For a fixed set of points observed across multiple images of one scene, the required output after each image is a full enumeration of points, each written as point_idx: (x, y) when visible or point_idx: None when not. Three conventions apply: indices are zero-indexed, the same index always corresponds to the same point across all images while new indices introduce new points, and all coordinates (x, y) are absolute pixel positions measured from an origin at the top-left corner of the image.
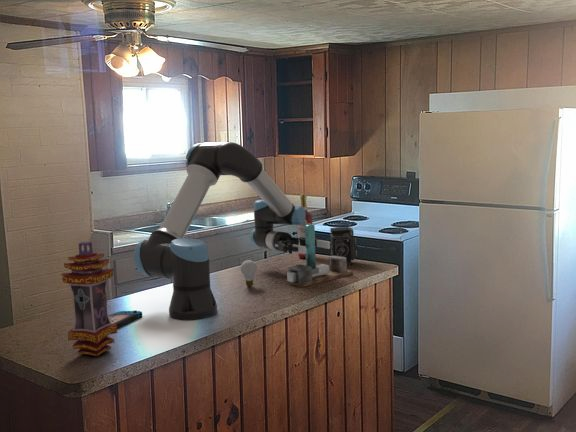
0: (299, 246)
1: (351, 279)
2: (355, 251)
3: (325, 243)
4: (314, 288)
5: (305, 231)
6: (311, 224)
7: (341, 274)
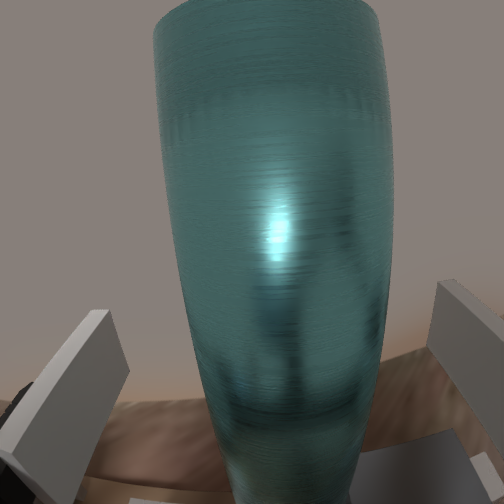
0: (492, 320)
1: (137, 432)
2: None
3: (98, 356)
4: (377, 425)
5: (391, 154)
6: (161, 29)
7: (107, 480)
